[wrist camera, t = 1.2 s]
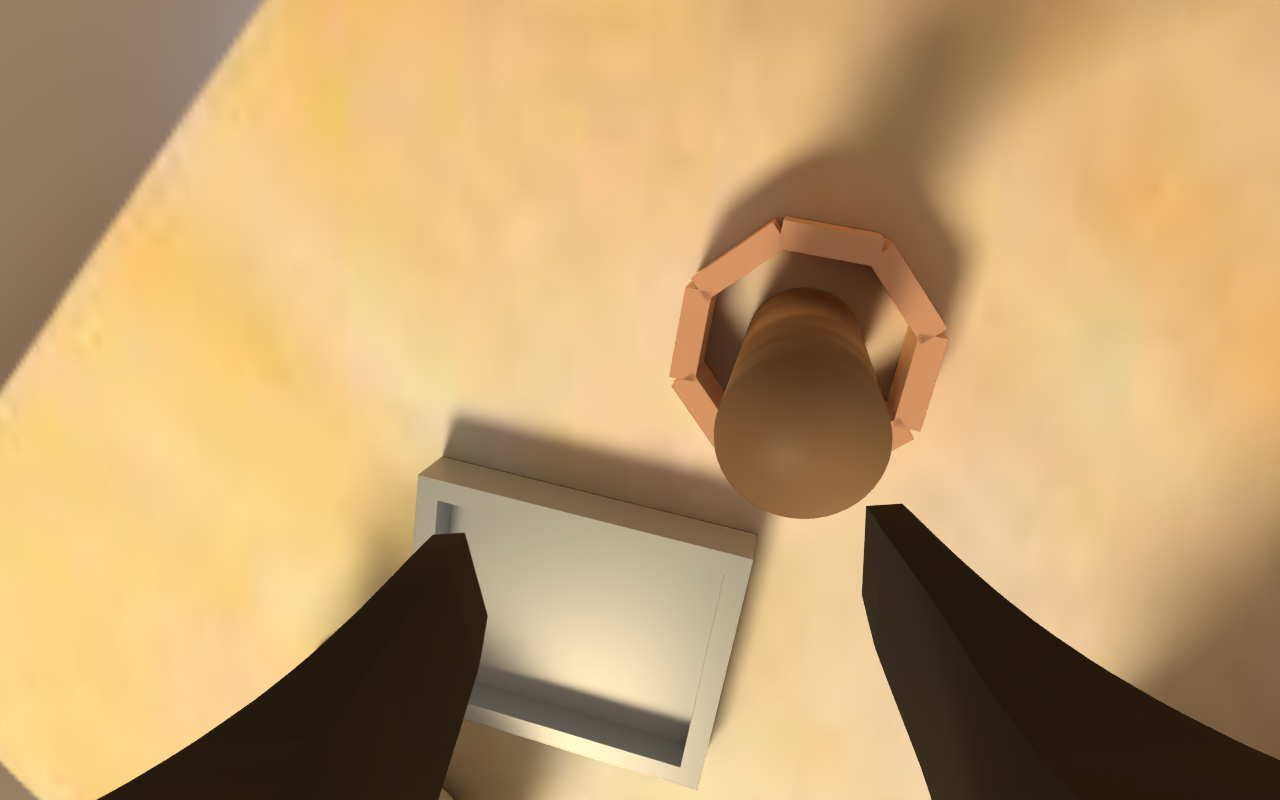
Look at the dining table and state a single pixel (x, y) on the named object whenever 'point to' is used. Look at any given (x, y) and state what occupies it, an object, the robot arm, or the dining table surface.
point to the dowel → (803, 410)
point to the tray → (594, 616)
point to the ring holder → (825, 241)
